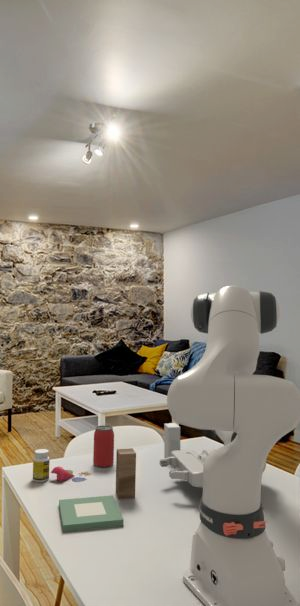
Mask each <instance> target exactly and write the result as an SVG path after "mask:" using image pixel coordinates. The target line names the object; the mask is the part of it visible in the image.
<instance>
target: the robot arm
mask: <svg viewBox="0 0 300 606" xmlns="http://www.w3.org/2000/svg"><path fill="white" fill-rule="evenodd" d="M279 305H280V304H279V302H278V301H277V298H276V297H275V295H274V294H273V293H272V292H267V291H263V290H262V291H260V290H259V292H258V291H248V289H246V288H245V287H242V286H240V285H233V284H231V285H227V286H226V285H225V286H223V287H222V288H220V289H219V290H218V291H217V292H212V293H209V292H204V293H201V294H198V295H197V296H196V297H195V298H193V301H192V304H191V308H190V318H191V322H192V324H193V327H194V329H195V330H196V331H197V332H199V333H202V334H207V339H206V347H205V349H204V350H205V351H204V353H203V355H202V357H201V358H200V359H199V361H198V362H197V363H195V365H193V366H192V367H191V368H190V369H188V370H187V371H185V372H183V373H181V374H179V375H178V376H176V377H175V379H173V381H172V382H171V384H170V386H169V387H168V391H167V397H166V405H167V409H168V411H169V414H170V416H171V418H172V419H173V421H174V423H176V424H177V425H178V424H179V425H183V426H185V427H189V428H193V429H197V430H205V431H207V430H209V431H210V430H211V431H212V432H213V433H214V435H216V436H217V437H218V438H219V439H220V440H221V441H222V442H223V446H221V447H218V448H214V449H213V448H211V449H210V448H209V449H203V450H202V452H201V453H200V454H199V453H197V451H194V450H188V449H187V450H186V449H185V450H182V449H180V450H175V451H172V452H171V457H168V458H166V459H165V458H160V459H159V465H160V467H162V468H165V467H167V466H174V468H176V469H177V470H174V469H173V470H169V472H168V473H169V474H168V475H169V477H170V479H172V480H175V479H176V480H177V479H178V480H180V481H181V480H182V481H187V482H188V483H189V484H190V485H191V486H192V487H196V488H202V496H201V498H200V504H199V520H200V523H199V525H198V527H197V528H196V530H195V531H194V533H193V534H192V539H191V540H192V542H191V551H190V562H189V563H190V564H189V568H188V569H187V570H186V571H184V573H183V575H182V582H183V583H184V584H185V585H186V586H187V587H188V589H190V590H191V592H192V593H194V596H196V597H197V598H198V599H199V600H200V601H201V602H202V603H203V605H204V606H205V605H206V606H298V604H297V602H296V601H295V599H294V598H293V595H292V594H291V593H290V592H291V591H290V590H289V588H288V587H287V585H286V580H285V574H284V572H285V571H286V567H287V566H286V562H285V561H286V560H285V558H284V557H282V556H277V553H276V552H275V549H274V542H273V540H270V539H269V537H268V534H267V532H266V528H267V525H266V523H267V521H266V520H265V512H264V508H263V504H262V503H261V493H262V480H263V473H264V472H265V470H266V467H267V457H268V455H269V454H270V452H271V450H272V449H273V447H274V446H275V445H276V443H277V442H278V441H280V440H281V439H282V437H284V436H286V435H287V434H289V433H290V432H292V431H293V430H294V429H295V428H296V427H297V426H298V425H299V423H300V390H299V389H298V387H297V386H296V385H295V383H294V382H293V381H292V380H289V379H284V378H282V377H277V376H273V375H267V374H254V373H255V372H256V370H257V365H258V358H259V356H260V351H261V350H260V335H262V334H267V333H269V332H272V331H274V329H275V328H276V327H277V324H278V323H279V319H280V314H281V312H280V311H281V310H280V306H279Z"/></svg>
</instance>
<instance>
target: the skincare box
mask: <svg viewBox="0 0 300 606" xmlns="http://www.w3.org/2000/svg"><path fill="white" fill-rule="evenodd" d="M163 425H164V426H163V432H164V433H163V436H164V437H163V439H164V440H163V443H164V452H163V453H164V457H163V459H166V458H168V457H171V452H172V451H175V450H181V426H179V425H178V423H176V422H169V423H167V422H166V423H163Z"/></svg>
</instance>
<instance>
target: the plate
mask: <svg viewBox="0 0 300 606" xmlns="http://www.w3.org/2000/svg"><path fill="white" fill-rule="evenodd" d="M58 508H59V514H60V520H61V528H62V529H61V530H62V533H65V532H67V533H68V532H76V531H77V532H78V531H85V530H86V531H88V530H96V529H104V528H116V527H124V520H125V519H124V517H123V516H122V512H121V511H120V508H119V506H118V504H117V502H116V499H115V497H114V495H100V496H99V495H98V496H89V497H88V496H87V497H79V498H78V497H77V498H67V499H66V498H64V499H58Z"/></svg>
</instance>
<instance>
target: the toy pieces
mask: <svg viewBox="0 0 300 606" xmlns="http://www.w3.org/2000/svg"><path fill="white" fill-rule="evenodd" d="M50 473H51V474H55V475H56V480H57V481H58V482H63V481H66V480H69V479H71V481H72V482H74V483H80V482H85V481H87V480H88V479H87V478H85V477H87V476H91V475H92V472H89V471H85V472H83V471H81V472H80V473H78V475H79V476H77V477H75V475H74V471H73V470H71V469H64V468H63V466H60V465H59V466H55V467H53V469H52V470H51V472H50ZM80 476H84V477H80Z"/></svg>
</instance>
